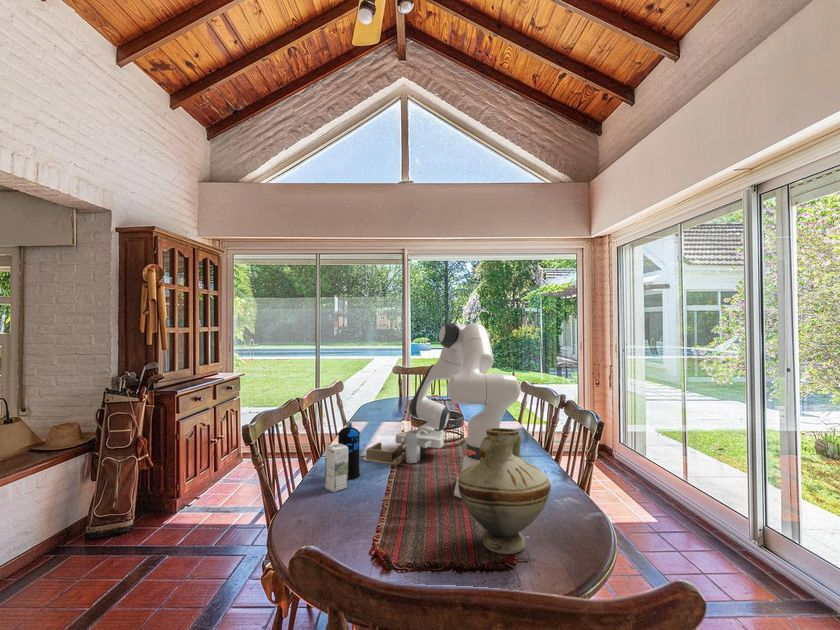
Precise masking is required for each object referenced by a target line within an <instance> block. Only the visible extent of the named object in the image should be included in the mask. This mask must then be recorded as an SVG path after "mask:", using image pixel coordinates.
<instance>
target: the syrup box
mask: <svg viewBox="0 0 840 630" xmlns="http://www.w3.org/2000/svg"><path fill="white" fill-rule="evenodd" d="M324 452H325V454H324V455H325V456H324V459H325V461H324V469H325V470H324V488H325V489H326V490H327V491H330V492H331V493H336V492H340V491H343V490H346V489H348V488H349V487H348V485H349V480H348V447H347V446H345V445H343V444H338V443H336V444H331V445H327V446H325V451H324Z"/></svg>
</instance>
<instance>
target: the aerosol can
mask: <svg viewBox="0 0 840 630" xmlns="http://www.w3.org/2000/svg"><path fill="white" fill-rule="evenodd" d="M352 424H353V422H352V421H351V420H348V421H346V427H343V428H342V429H340V430H339V432H337V435H338V436H337V437H338V438H337V439H338V441H337V444H343V445H345V446H347V447H348V481H349V480H350V481H351V480H356V479H358V478H359V477H360V476H361V474H360V435H361V431H359V430H358V429H357V428H355V427H353V425H352Z"/></svg>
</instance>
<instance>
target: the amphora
mask: <svg viewBox="0 0 840 630" xmlns="http://www.w3.org/2000/svg"><path fill="white" fill-rule="evenodd" d="M486 433H487V436H488V437H485V438H484V439H483V440H482V442H481V445H480V451H479V452H480V460H479V461H477V462H475V463H473V464H471V465H470V466H468V467H466V468H465V469H464V470H463V471H462V470H461V471H462V472H461V471H460V472H461V473H460V472H459V476H458V477H459V478H458V477H457V478H458V487H459V492H460V495H461V498H460V499H461V500H462V502H463V505H464V507H465V508H466V510H467V511H468V512H469V514H470V515H471V517H473V519H474V520H475V521H476V522H477V523H478V524H479V525H480V526H482V528H484V529H485V531H484V532H483V533H482V544H483V546H484V547H485V548H486V549H487V550H489V551H490V552H493V553H496V554H501V555H513V554H517V553H520V552H522V551H523V550H524V549H525V548H526V539H525V537H524V535H523V534H522V533H521V531H524V530H525V529H526V528H527V527H529V526H530V525H532V523H533V522H535V520H536V519H537V518H538V517H539V516H540V514H541V513H542V511H543V510H544V508H545V506H546V504H547V501H548V499H549V496H550V491H551V488H552V485H551V483H550V479H549V478H548V477H547V475H546V474H545V473H544V472H543V471H542V470H540V468H538V467H536V466H535V465H534V464H531V463H530V462H528V461H526V460H525V459H523V458H522V455H521V444H522V438H521V435H520V431H519V430H517V429H514V428H504V427H503V428H502V427H500V428H491V429H487V430H486ZM492 449H493V454H492V455H491V456H490V454H491V451H492Z"/></svg>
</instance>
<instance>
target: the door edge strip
mask: <svg viewBox="0 0 840 630" xmlns="http://www.w3.org/2000/svg"><path fill="white" fill-rule="evenodd" d="M405 458H406V451H405V452H404V453H403V454H402V455H401V456H399V457H398V458H396V459H395V460H394V461H393V464H392V466H393V467H397V466H398V465H399V464H401V463H402V462H403V461H405V460H406V459H405Z"/></svg>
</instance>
